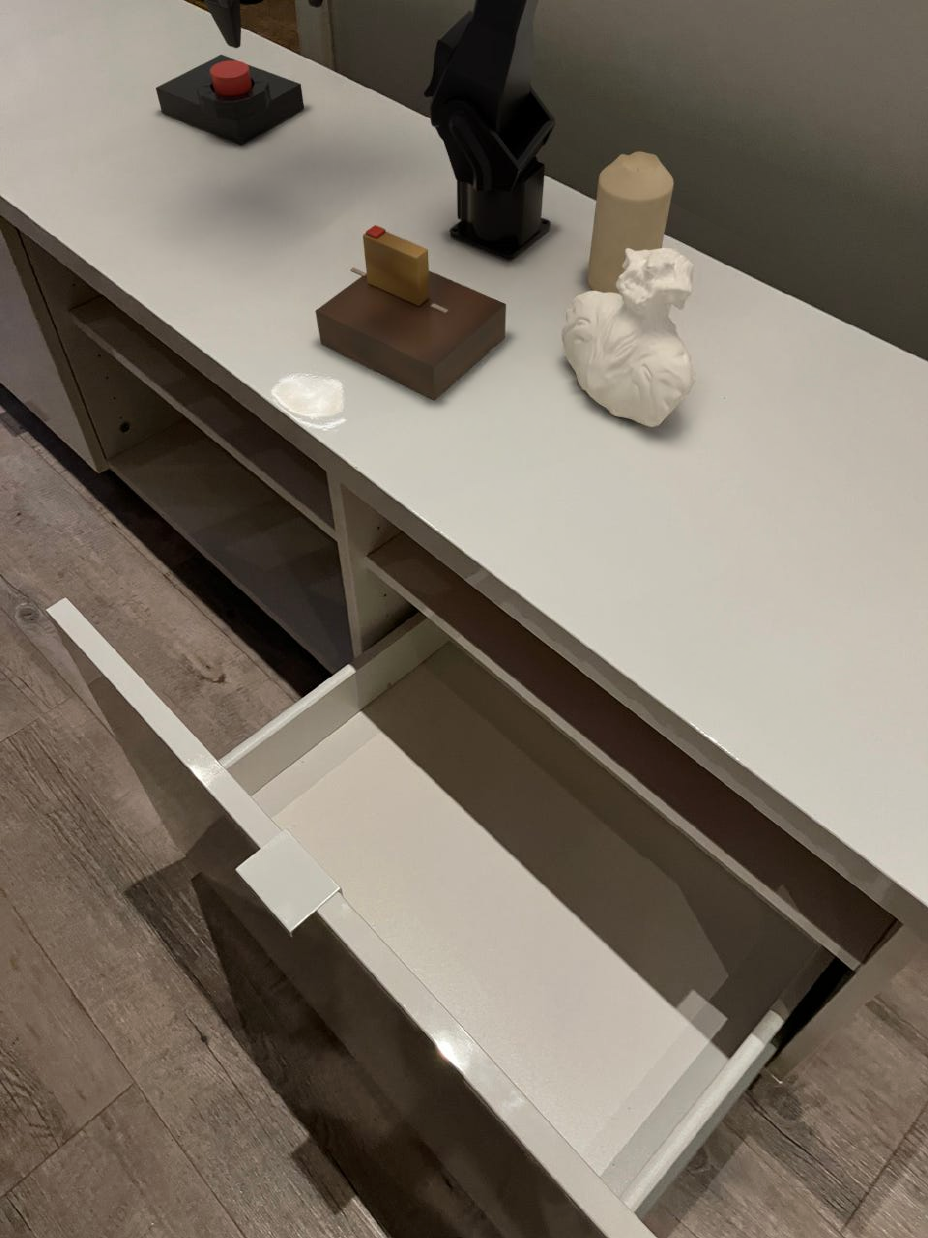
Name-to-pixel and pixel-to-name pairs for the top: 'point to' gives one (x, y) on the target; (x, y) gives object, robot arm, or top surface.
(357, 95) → the top surface
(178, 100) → the push button box
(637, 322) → the bust
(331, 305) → the plate
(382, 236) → the thumbturn
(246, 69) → the button
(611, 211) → the candle
